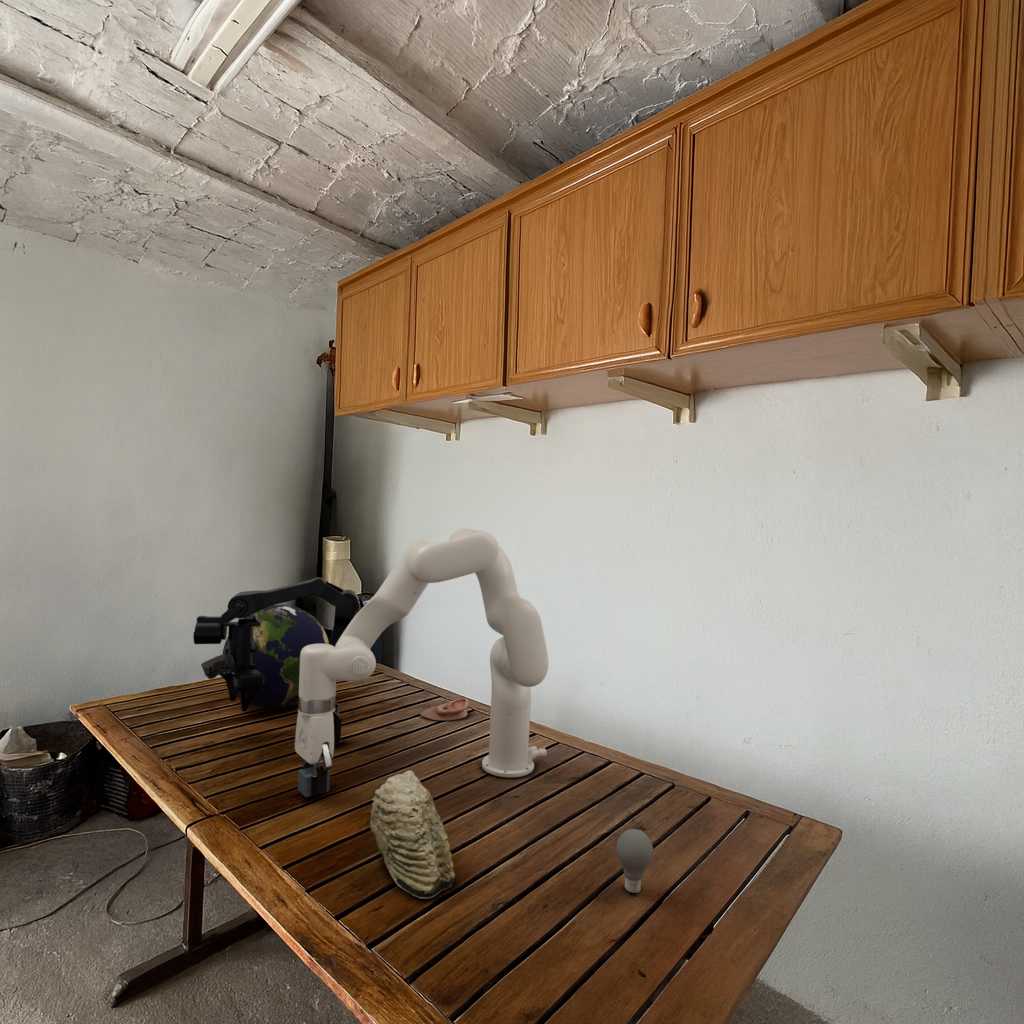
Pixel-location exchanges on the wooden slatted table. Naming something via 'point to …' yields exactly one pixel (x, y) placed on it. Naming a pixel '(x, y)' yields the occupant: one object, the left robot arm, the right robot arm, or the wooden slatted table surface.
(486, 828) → the wooden slatted table surface
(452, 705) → the anatomical model
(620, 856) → the light bulb
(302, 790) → the blue-grey block
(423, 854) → the fossil
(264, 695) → the globe
